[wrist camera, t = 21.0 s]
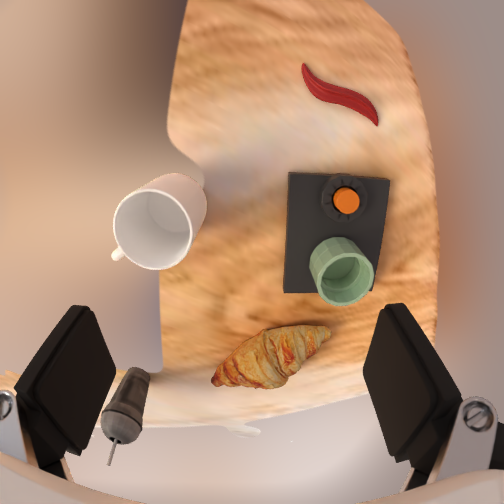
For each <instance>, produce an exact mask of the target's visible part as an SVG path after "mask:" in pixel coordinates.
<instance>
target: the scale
mask: <svg viewBox="0 0 504 504" xmlns="http://www.w3.org/2000/svg"><path fill="white" fill-rule="evenodd" d="M389 187H390V180H388V179H385V178H375V177H364V176H352V175H350V174H340V173H338V174H319V173H296V172H289V173H288V200H287V223H286V243H285V261H284V278H283V291H284V293H318V290H317V287H316V285H315V282H314V279H313V277H312V274H311V271H310V268H309V265H310V257H311V255H312V253H313V251H314V249H315V248H316V247H317V246H318V245H319V244H320V243H322V242H323V241H324V240H327V239H330V238H332V237H345V238H347V239H349V240H351V241H353V242H354V243H355V244H356V245H357V247H358V248H359V249H360V250H361V252H362V253H363V254H364V255H365V257H366V258H367V259H368V260H369V262H370V263H371V264H372V267H373V271H374V278H373V283H372V286H371V288H370V289H369V291H372V289H373V284H374V280H375V275H376V270H377V265H378V260H379V255H380V249H381V243H382V237H383V231H384V225H385V218H386V211H387V203H388V195H389ZM340 188H349V189H351V190H353V191H354V192H356V193H357V195H358V196H359V201H360V202H359V206H358V208H357V210H356V211H354V212H353V213H350V214H345V213H342V212H341V211H340V210H339V209H338V208H337V207H336V206H335V204H334V201H333V198H334V195H335V193H336V191H337V190H339V189H340Z"/></svg>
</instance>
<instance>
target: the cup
mask: <svg viewBox="0 0 504 504" xmlns="http://www.w3.org/2000/svg"><path fill="white" fill-rule="evenodd" d="M206 212H207V200H206V196H205V193H204V191H203V189H202V188H201V186H200V185H199V184H198V183H197V182H196V181H195V180H193V179H192V178H191V177H189V176H187V175H184V174H179V173H169V174H165V175H162V176H160V177H158V178H156V179H155V180H152V181H151V182H149V183H147V184H146V185H144V186H142V187H141V188H139V189H137V190H135V191H134V192H132V193H130V194H129V195H127V196H126V197H125V198H124V199H123V200H122V201H121V202H120V204H119V205H118V207H117V209H116V212H115V215H114V220H113V231H114V236H115V239H116V242H117V244H118V247H117V248H116V249H115V250H114V251H113V253H112V259H114V260H115V261H118V260H120V259H122V258H123V257H125V256H126V257H127V258H128V259H129V260H131V261H132V262H134V263H135V264H137V265H139V266H141V267H144V268H147V269H152V270H162V269H167V268H170V267H173V266H175V265H176V264H178V263H179V262H181V261H182V260H183V259H184V258H185V256H186V255H187V254H188V252H189V250H190V248H191V246H192V244H193V242H194V240H195V238H196V235H197V233H198V231H199V229H200V227H201V225H202V223H203V221H204V219H205V216H206Z"/></svg>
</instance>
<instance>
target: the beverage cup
mask: <svg viewBox="0 0 504 504" xmlns="http://www.w3.org/2000/svg"><path fill="white" fill-rule="evenodd" d="M149 380H150V376H149V374H148V373H147V372H146V371H144V370H143V369H140V368H137V367H132V368H130V369H128V372H127V373H126V374H125V376H124V377H123V379H122V381H121V383H120V385H119V386H118V388H117V390H116V392H115V394H114V395H113V397H112V399H111V401H110V403H109V404H108V405H107V406H106V408H105V409H104V411H102V415H101V416H102V417H101V428H102V430H103V433H104V434H105V436H106V437H107V438H108V439H109V440H111V441H112V442H114V443H113V446H112V449H111V453H110V456H109V459H108V463H107V465H108V466H110V464H111V461H112V457H113V454H114V451H115V447H116V444H129V443H131V442H133V441H135V440H136V439H137V438H138V436H139V434H140V432H141V431H142V422H143V419H142V417H143V412H144V407H145V402H146V397H147V392H148V387H149Z"/></svg>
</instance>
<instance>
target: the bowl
mask: <svg viewBox="0 0 504 504" xmlns="http://www.w3.org/2000/svg"><path fill="white" fill-rule="evenodd" d="M309 268H310V271H311V274H312V277H313V279H314V282H315V285H316V287H317V290H318V293H319V295H320V297H321V298H322V299H323V300H324V301H325V302H327V303H329V304H332V305H335V306H347V305H350V304H353V303H355V302H357V301H359V300H360V299H361V298H362V297H364V296H365V295H366V294H367V292H368V291H369V289H370V288H371V286H372V283H373V278H374V271H373V267H372V264H371V263H370V262H369V260H368V259H367V258H366V257H365V255H364V254H363V253H362V252H361V250H360V249H359V248H358V247H357V245H356V244H355V243H354V242H353V241H351V240H349V239H347V238H345V237H332V238H330V239H327V240H324V241H323V242H322V243H320V244H319V245H318V246H317V247H316V248H315V249H314V251H313V253H312V255H311V257H310V265H309Z"/></svg>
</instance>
